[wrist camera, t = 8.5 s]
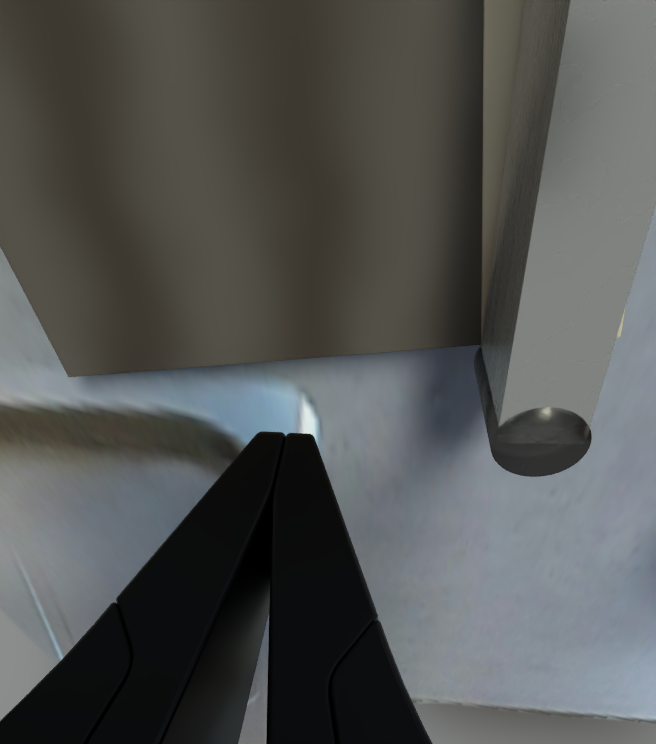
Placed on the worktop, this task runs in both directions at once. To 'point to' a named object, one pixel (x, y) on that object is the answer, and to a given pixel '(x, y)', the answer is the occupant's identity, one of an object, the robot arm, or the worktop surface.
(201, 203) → the wooden board
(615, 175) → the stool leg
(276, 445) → the robot arm
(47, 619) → the worktop surface
